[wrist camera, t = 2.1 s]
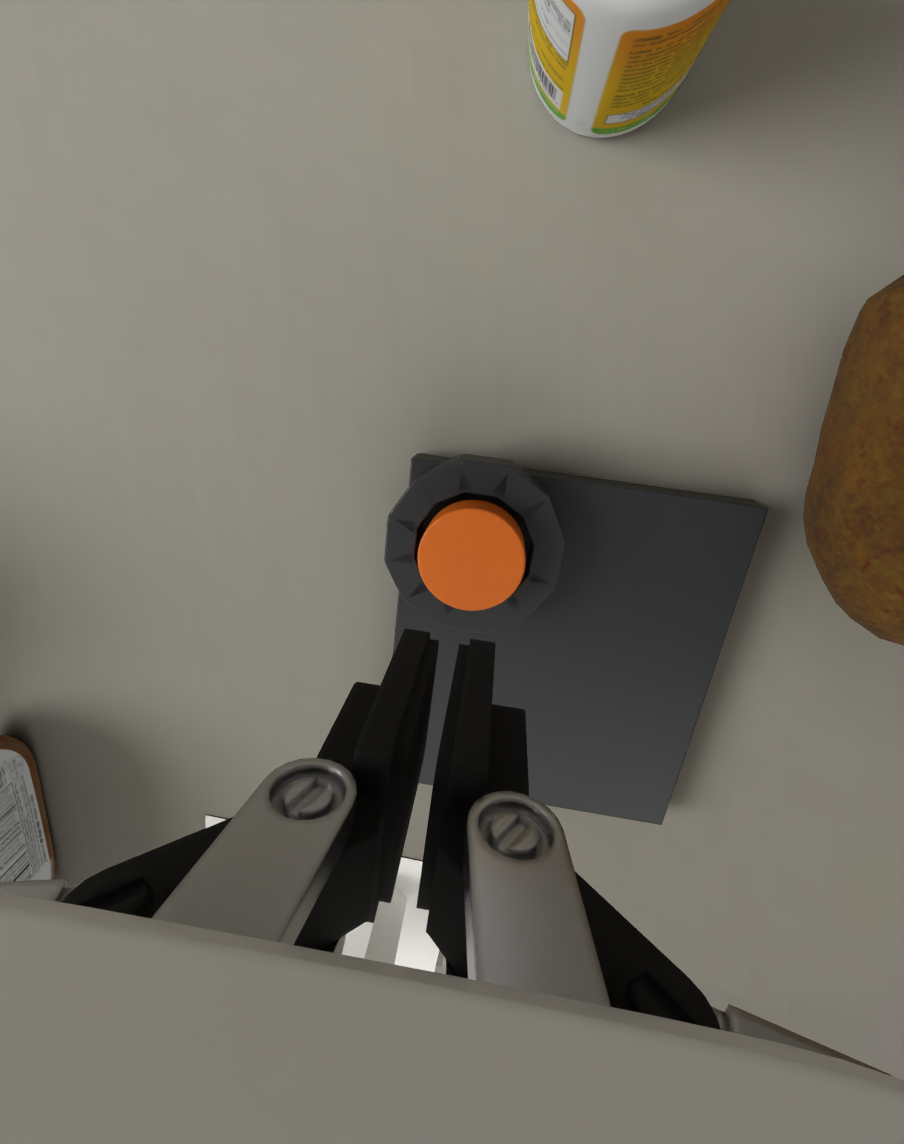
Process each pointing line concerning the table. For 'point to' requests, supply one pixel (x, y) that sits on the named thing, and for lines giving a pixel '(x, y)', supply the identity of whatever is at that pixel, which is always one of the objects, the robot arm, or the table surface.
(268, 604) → the table surface
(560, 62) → the supplement bottle
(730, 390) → the table surface
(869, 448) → the potato
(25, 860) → the tin
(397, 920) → the napkin holder
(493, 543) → the button
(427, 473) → the dark grey button base
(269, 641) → the table surface
